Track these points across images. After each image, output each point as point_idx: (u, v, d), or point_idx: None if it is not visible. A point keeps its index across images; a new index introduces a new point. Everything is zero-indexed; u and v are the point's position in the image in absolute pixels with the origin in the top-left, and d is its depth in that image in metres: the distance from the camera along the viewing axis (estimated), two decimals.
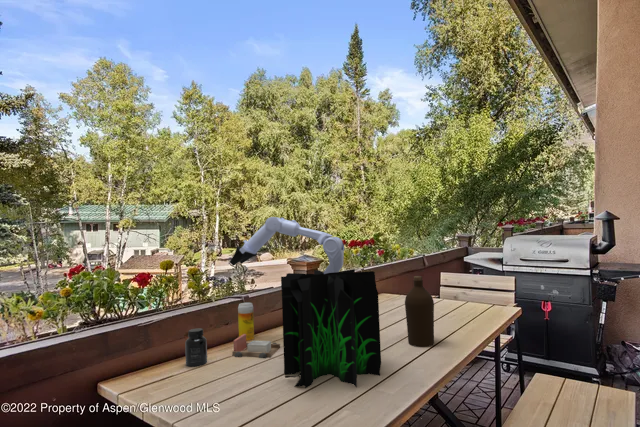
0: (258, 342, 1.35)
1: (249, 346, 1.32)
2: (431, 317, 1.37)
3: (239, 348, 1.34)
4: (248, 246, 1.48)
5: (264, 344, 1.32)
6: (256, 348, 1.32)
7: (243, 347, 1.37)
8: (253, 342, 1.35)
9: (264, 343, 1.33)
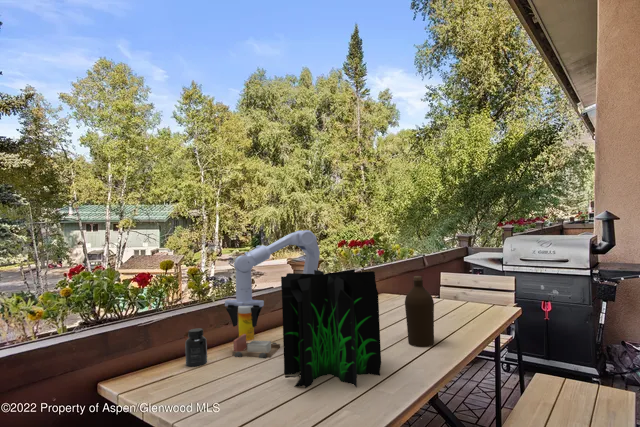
0: (258, 342, 1.35)
1: (249, 346, 1.32)
2: (431, 317, 1.37)
3: (239, 348, 1.34)
4: (250, 300, 1.35)
5: (264, 344, 1.32)
6: (256, 348, 1.32)
7: (243, 347, 1.37)
8: (253, 342, 1.35)
9: (264, 343, 1.33)
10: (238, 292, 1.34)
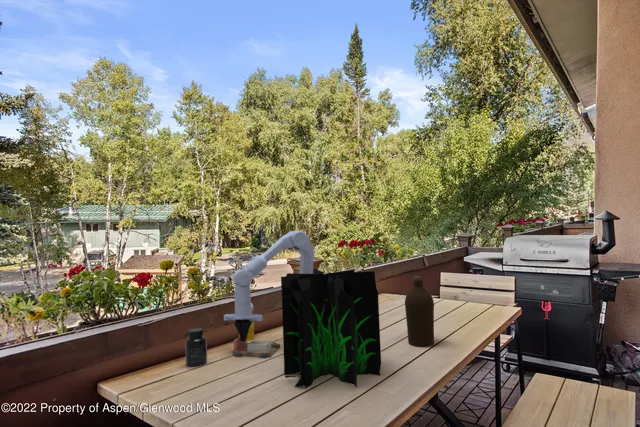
0: (258, 342, 1.35)
1: (249, 346, 1.32)
2: (431, 317, 1.37)
3: (239, 348, 1.34)
4: (249, 314, 1.35)
5: (264, 344, 1.32)
6: (256, 348, 1.32)
7: (243, 347, 1.37)
8: (253, 342, 1.35)
9: (264, 343, 1.33)
10: (237, 307, 1.34)
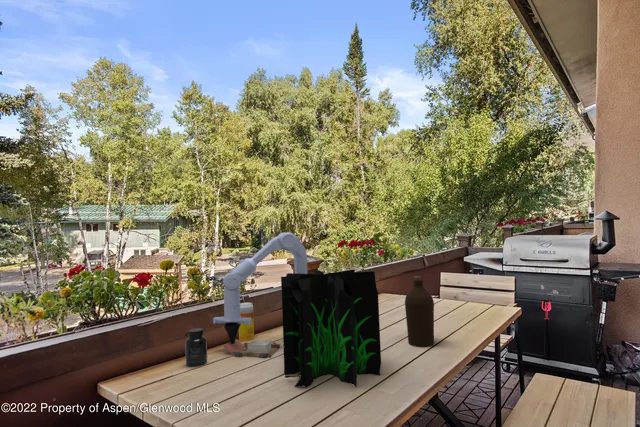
0: (258, 342, 1.35)
1: (249, 346, 1.32)
2: (431, 317, 1.37)
3: (235, 349, 1.34)
4: (239, 317, 1.36)
5: (264, 344, 1.32)
6: (256, 348, 1.32)
7: (240, 347, 1.38)
8: (253, 342, 1.35)
9: (264, 343, 1.33)
10: (226, 310, 1.35)
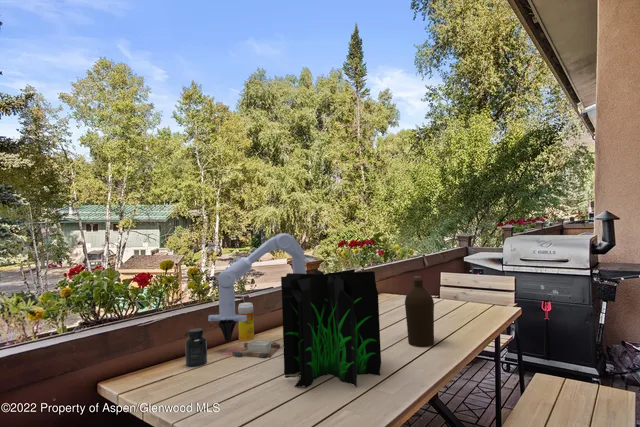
0: (258, 342, 1.35)
1: (249, 346, 1.32)
2: (431, 317, 1.37)
3: None
4: (233, 315, 1.36)
5: (264, 344, 1.32)
6: (256, 348, 1.32)
7: (239, 349, 1.38)
8: (253, 342, 1.35)
9: (264, 343, 1.33)
10: (221, 307, 1.35)
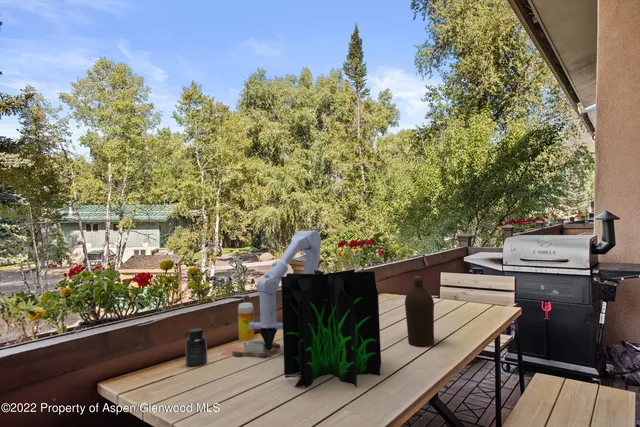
0: (255, 342, 1.35)
1: (246, 346, 1.33)
2: (431, 317, 1.37)
3: None
4: (275, 322, 1.33)
5: (261, 344, 1.32)
6: (253, 348, 1.32)
7: (239, 349, 1.38)
8: (250, 342, 1.35)
9: (261, 343, 1.33)
10: (263, 315, 1.31)
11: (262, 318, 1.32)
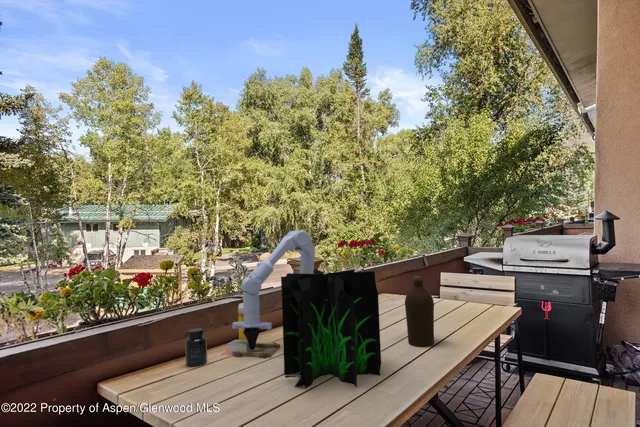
0: (239, 341, 1.36)
1: (230, 345, 1.34)
2: (431, 317, 1.37)
3: None
4: (258, 322, 1.34)
5: (245, 343, 1.33)
6: (237, 347, 1.33)
7: None
8: (234, 341, 1.37)
9: (245, 342, 1.35)
10: (246, 315, 1.33)
11: (245, 318, 1.33)
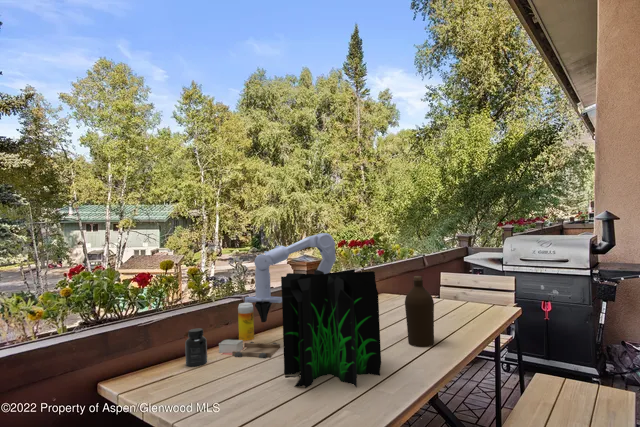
0: (230, 341, 1.37)
1: (220, 345, 1.35)
2: (431, 317, 1.37)
3: None
4: (269, 296, 1.41)
5: (235, 343, 1.34)
6: (227, 347, 1.34)
7: None
8: (225, 341, 1.37)
9: (235, 342, 1.36)
10: (258, 289, 1.40)
11: (257, 292, 1.40)
